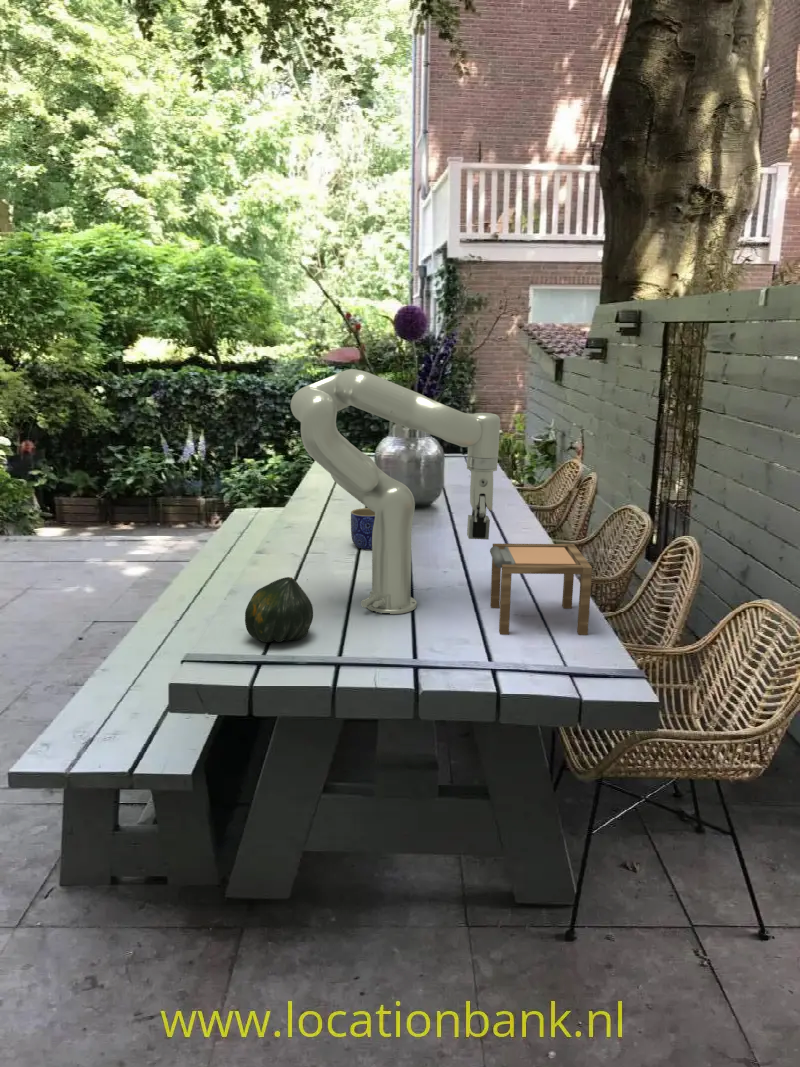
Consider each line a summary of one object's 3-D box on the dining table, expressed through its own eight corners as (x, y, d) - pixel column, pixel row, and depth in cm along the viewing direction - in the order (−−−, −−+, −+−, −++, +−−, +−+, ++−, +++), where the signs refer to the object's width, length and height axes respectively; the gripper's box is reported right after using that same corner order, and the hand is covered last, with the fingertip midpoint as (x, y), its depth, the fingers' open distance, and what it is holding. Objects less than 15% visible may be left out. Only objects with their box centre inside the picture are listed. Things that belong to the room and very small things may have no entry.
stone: (488, 539, 216) (489, 520, 215) (468, 538, 216) (469, 519, 215) (486, 534, 221) (487, 515, 220) (466, 534, 221) (468, 514, 220)
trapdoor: (575, 571, 196) (576, 560, 196) (495, 570, 196) (496, 560, 196) (563, 554, 210) (564, 544, 209) (488, 553, 210) (489, 543, 209)
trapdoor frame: (587, 634, 197) (592, 567, 193) (500, 634, 197) (502, 567, 193) (570, 605, 216) (573, 544, 212) (490, 605, 216) (492, 543, 212)
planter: (387, 542, 273) (388, 508, 270) (383, 552, 262) (384, 516, 260) (353, 541, 274) (353, 507, 271) (348, 550, 263) (348, 515, 261)
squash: (226, 611, 194) (252, 572, 185) (280, 599, 204) (307, 562, 195) (253, 664, 189) (281, 627, 180) (307, 649, 199) (336, 613, 190)
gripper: (501, 469, 206) (496, 543, 210) (493, 458, 222) (488, 527, 227) (470, 468, 206) (465, 542, 210) (464, 457, 222) (460, 526, 227)
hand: (477, 533), depth 218 cm, fingers closed on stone, 5 cm apart
